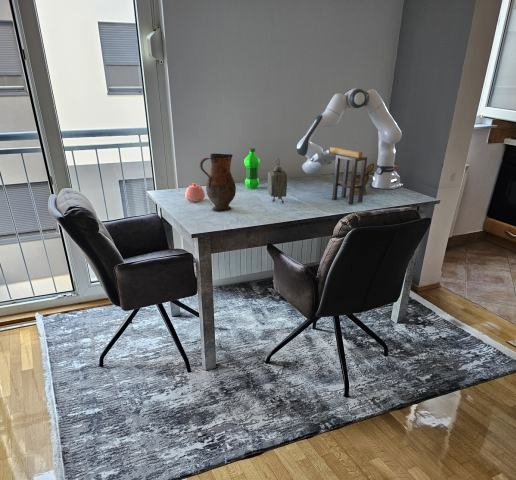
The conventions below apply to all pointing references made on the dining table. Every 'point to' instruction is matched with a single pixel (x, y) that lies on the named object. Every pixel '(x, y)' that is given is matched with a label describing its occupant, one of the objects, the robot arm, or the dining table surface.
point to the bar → (346, 152)
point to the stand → (353, 177)
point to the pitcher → (220, 181)
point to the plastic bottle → (252, 169)
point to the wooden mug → (365, 179)
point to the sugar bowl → (194, 193)
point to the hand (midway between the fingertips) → (335, 150)
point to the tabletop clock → (277, 183)
